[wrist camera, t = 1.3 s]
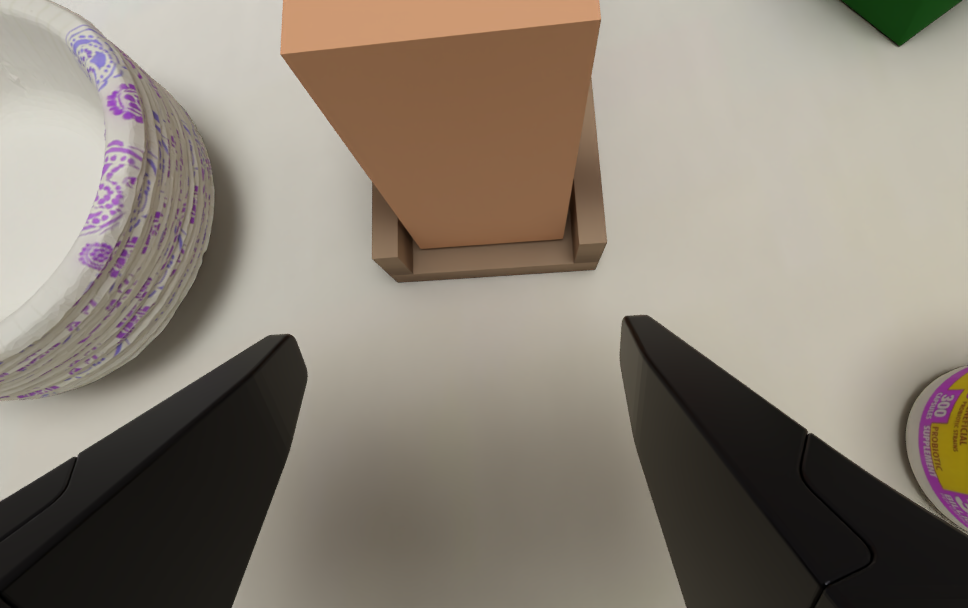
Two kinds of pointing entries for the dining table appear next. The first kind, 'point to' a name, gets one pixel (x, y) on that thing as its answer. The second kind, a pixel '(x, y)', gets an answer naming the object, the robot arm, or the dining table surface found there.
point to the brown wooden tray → (502, 259)
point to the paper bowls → (89, 203)
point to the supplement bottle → (942, 444)
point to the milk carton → (901, 15)
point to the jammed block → (454, 106)
